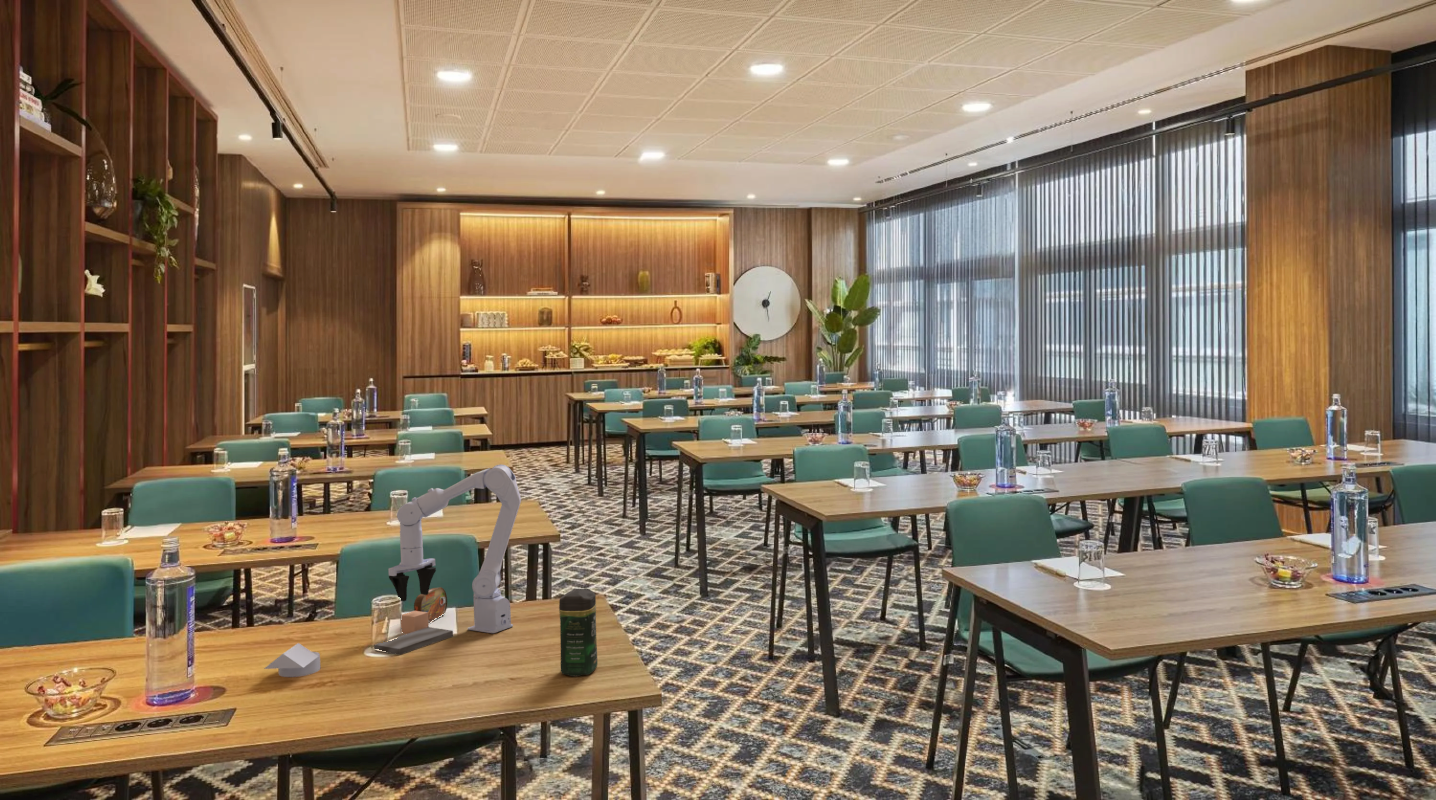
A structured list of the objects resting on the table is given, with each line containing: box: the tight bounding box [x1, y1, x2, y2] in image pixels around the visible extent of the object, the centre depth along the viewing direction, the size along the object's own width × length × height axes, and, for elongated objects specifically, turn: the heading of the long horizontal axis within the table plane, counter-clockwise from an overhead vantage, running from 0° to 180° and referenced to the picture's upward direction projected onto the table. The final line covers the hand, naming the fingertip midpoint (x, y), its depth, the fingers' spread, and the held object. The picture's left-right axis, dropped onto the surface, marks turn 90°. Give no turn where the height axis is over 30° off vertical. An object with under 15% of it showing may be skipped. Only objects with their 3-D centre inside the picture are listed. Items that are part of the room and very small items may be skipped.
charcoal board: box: [373, 626, 454, 656], centre depth 250 cm, size 9×18×2 cm, turn 150°
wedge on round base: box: [263, 642, 321, 678], centre depth 227 cm, size 9×7×13 cm
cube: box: [400, 610, 430, 635], centre depth 261 cm, size 5×5×5 cm
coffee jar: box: [558, 588, 598, 677], centre depth 223 cm, size 10×8×19 cm
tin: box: [413, 586, 448, 624], centre depth 273 cm, size 15×3×8 cm, turn 168°
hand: (413, 597), depth 260 cm, fingers open, 7 cm apart
